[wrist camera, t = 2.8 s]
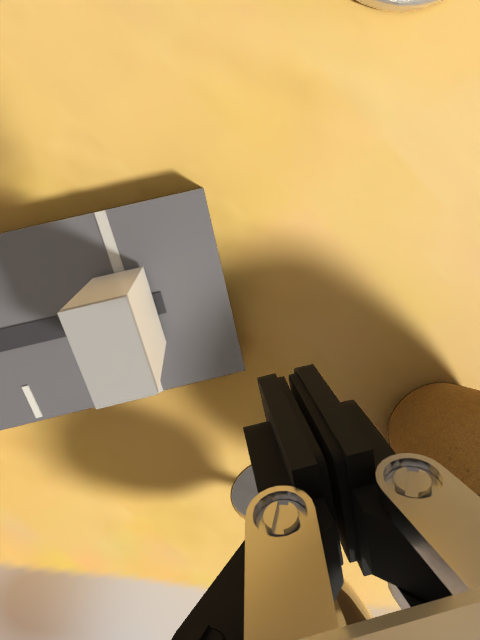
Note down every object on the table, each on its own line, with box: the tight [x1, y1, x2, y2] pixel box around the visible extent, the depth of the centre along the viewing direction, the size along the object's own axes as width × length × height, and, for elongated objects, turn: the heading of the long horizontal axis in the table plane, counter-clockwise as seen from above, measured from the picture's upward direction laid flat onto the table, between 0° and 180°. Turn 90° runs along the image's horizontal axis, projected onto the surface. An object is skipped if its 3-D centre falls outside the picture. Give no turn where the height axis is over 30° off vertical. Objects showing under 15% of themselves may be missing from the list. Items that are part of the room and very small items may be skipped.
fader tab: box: [57, 267, 166, 409], centre depth 21 cm, size 5×3×6 cm, turn 12°
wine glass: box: [231, 465, 373, 628], centre depth 26 cm, size 8×8×15 cm
